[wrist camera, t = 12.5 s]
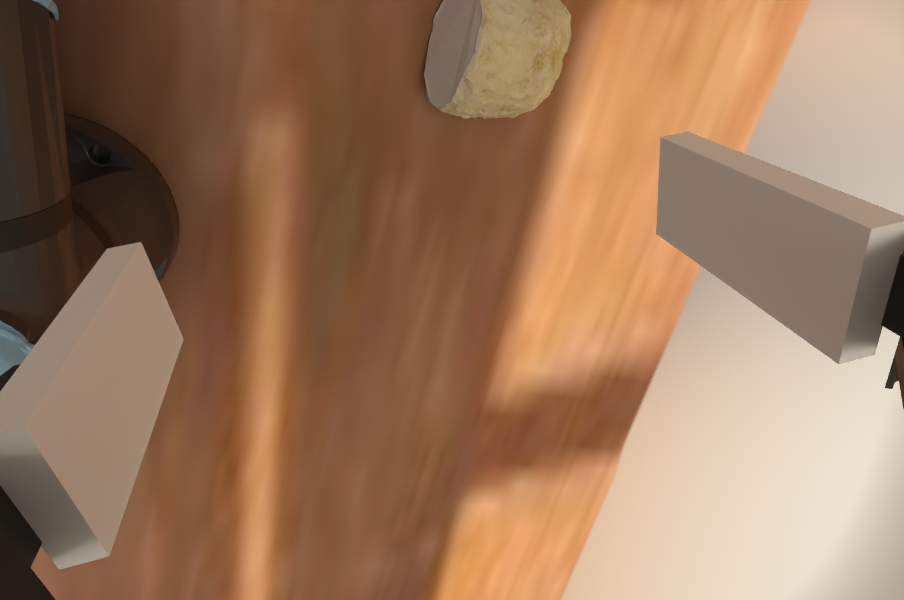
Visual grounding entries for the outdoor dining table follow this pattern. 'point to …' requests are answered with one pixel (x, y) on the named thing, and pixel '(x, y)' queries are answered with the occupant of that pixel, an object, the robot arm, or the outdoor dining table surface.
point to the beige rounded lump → (495, 55)
